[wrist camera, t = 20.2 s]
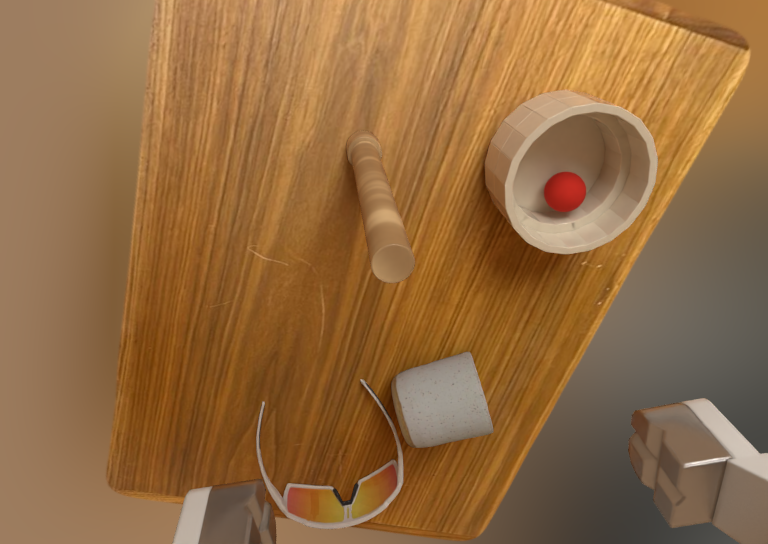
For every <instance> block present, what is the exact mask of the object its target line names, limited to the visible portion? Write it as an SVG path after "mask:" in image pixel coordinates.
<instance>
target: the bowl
mask: <svg viewBox="0 0 768 544" xmlns="http://www.w3.org/2000/svg"><path fill="white" fill-rule="evenodd" d="M657 159H658V157H657V153H656V149H655V144H654V140H653V137H652V135H651V134H650V132H649V131H648V129H647V128H646V126H645V125H644V123H643V122H642V121H641V119H640V118H638V117H636V116H635V115H633V114H632V113H630V112H628V111H627V110H625V109H624V108H622V107H620V106H617V105H615V104H612V103H610V102H607V101H605V100H602V99H600V98H597V97H595V96H592V95H590V94H587V93H583V92H578V91H572V90H559V91H553V92H547V93H543V94H540V95H538V96H536V97H534V98H532V99H530V100H528V101H526V102H524V103H522V104H521V105H520V106H519V107H517V108H516V109H515V110H514V111H513V112H512V113H511V114H510V115H509V116H508V117H507V118H506V119H505V120H504V121H503V122H502V123H501V125H500V127H499V128H498V130H497V132H496V133H495V135H494V137H493V138H492V140H491V142H490V145H489V149H488V153H487V156H486V160H485V183H486V187H487V189H488V192H489V194H490V197H491V199H492V202H493V203H494V205H495V206H496V207H497V208H498V210H499V211H500V212H501V213H502V215H503V216H504V217H505V218H506V220H507V221H508V222H509V224H510V225H511V226H512V227H513V229H514V230H515V231H516V232H517V233H518V234H519V235H520V236H521V237H522V238H523V239H524V240H525V241H526V242H527V243H528V244H530V245H532V246H534V247H536V248H538V249H540V250H542V251H544V252H550V253H558V254H574V253H579V252H585V251H590V250H593V249H595V248H597V247H599V246H601V245H603V244H606V243H608V242H610V241H612V240H613V239H614V238H615V237H617V236H618V235H619V234H620V233H622V232H623V231H624V230H626V229H627V228H628V227H629V226H630V225H631V224H632V223H633V222H634V220H635V219H636V218H637V216H638V215H639V214H640V212H641V211H642V210H643V209H644V207H645V205H646V204H647V201H648V199H649V197H650V194H651V192H652V190H653V187H654V185H655V181H656V173H657V164H658V160H657ZM560 172H572V173H575V174H577V175H578V176H580V177H581V178H582V180H583V181H584V183H585V186H586V196H585V199H584V201H583V202H582V204H581V205H580V206H579V207H578V208H576V209H574V210H572V211H569V212H559V211H556V210H554V209H552V208H551V207H550V206H549V205H548V204H547V202H546V200H545V197H544V188H545V185H546V183H547V181H548V180H549V179H550V178H551V177H552V176H553V175H555V174H557V173H560Z"/></svg>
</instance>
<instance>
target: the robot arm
mask: <svg viewBox="0 0 768 544" xmlns="http://www.w3.org/2000/svg"><path fill="white" fill-rule="evenodd" d="M631 425H632V426H633V428H634V429H635V430H636V432H635V433H634V434H633V435H632V436H631V438H630V439H629V449H628V451H629V455H630V460H631V464H632V466H633V468H634V471H635V473H636V474H637V476H638V478H639V479H640V481H641V482H642V483H643V484H645V485H646V486H648V487H650V488H651V489H653V490H655V491H654V499H653V501H654V503H655V504H656V505H657V507H658V509H659V510H660V512H661V513H662V515H663V516H664V518H665V519H666V521H667V522H668V524H669V525H670V527H671V528H674V527H680V526H687V525H694V524H700V523H707V522H712V524H713V525H714V526H716V527H717V528H719V529H720V530H721V531H723V532H724V533H726V534H727V535H729V536H730V537H732V538H733V539H734V540H736V541H737V542H739V543H740V544H768V453H763V454H759V452H758V451H757V450H756V449H755V448H754V447H753V446H752V445H751V444H750V443H749V442H748V441H747V440H746V439H745V437H743V435H742V434H741V433H740V432H739V431H738V430H737V429H736V428H735V427H734V426H733V425H732V424H731V423H730V422H729V421H728V420H727V419H726V418H725V417H724V416H723V414H722V413H720V411H719V410H718V409H717V408H716V407H715V406H714V405H713V404H712V403H711V402H710V401H709V400H707V399H704V398H701V399H695V400H691V401H685V402H681V403H673V404H668V405H663V406H658V407H652V408H647V409H642V410H636V411H635V412H634V414H633V415H632V419H631ZM265 493H266V489H265V486H264V484H263V481H262V479H254V480H248V481H241V482H235V483H228V484H222V485H215V486H211V487H204V488H198V489H192V490H189V492H188V493H187V495H186V496H185V499H184V502H183V506H182V510H181V513H180V517H179V521H178V525H177V528H176V532H175V535H174V540H173V543H172V544H276V522H275V517H274V512H273V509H272V506H271V504H270V503H269V502H267V501H265Z"/></svg>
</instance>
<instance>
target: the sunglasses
mask: <svg viewBox="0 0 768 544" xmlns="http://www.w3.org/2000/svg"><path fill="white" fill-rule="evenodd" d="M360 381H361V383H362V384H363V385H364V387H365V388H366V389H367V390H368V391H369V393H370V394H371V395H372V397H373V398H374V399H375V401H376V402H377V404H378V405H379V406H380V408H381V410H382V411H383V413H384V415H385V416H386V418H387V420H388V422H389V424H390V426H391V428H392V431H393V433H394V436H395V440H396V444H397V450H398V464H397V463H396V461H395V460H394V459H393V460H391V461H390V462H388V463H387V464H385V465H384V466H382V467H381V468H380V469H378V470H376V471H375V472H373V473H371V474H370V475H368V476H366V477H364V478H362V479H360V480H359V481H358V484H357V483H356V484H355V486H354V489H353V493H352V497H351V500H348V501H344V502H343V501H342V499H341V497H340V495H339V493H338V491H337V490H336V489H335V488H333V487H332V486H313V485H302V484H293V483H288V484H287V486H286V489H285V491H284V495H283V498H282V497H281V495H280V493H279V492H278V490H277V489H276V488H275V487H274V486H273V485H272V483H271V482H270V480H269V478H268V477H267V475H266V472H265V469H264V465H263V461H262V456H261V451H260V429H261V421H262V416H263V411H264V407H265V402H262V406H261V410H260V415H259V420H258V427H257V437H256V449H257V457H258V462H259V465H260V469H261V473H262V476H263V478H264V481H265V484H266V486H267V488H268V491H269V493H270V494H271V496H272V498H273V499H274V501H275V502H276V504H277V505H278V507H279V508H280V510H281V511H282V512H283V513H284V514H285V515H286V516H287V517H288V518H290V519H292V520H294V521H297V522H299V523H302V524H304V525H305V526H308V527H313V528H320V529H336V528H345V527H349V526H353V525H357V524H359V523H362V522H365V521H367V520H369V519H371V518H373V517H374V516H376V515H377V514H379V513H380V512H382V511H383V510H384V509H385V508H387V506H388V505H389V503H390V502H391V501H392V500H393V499H394V498H395V497H396V496H397V494H398V493H399V492H400V489H401V486H402V484H403V454H402V450H401V445H400V441H399V438H398V435H397V432H396V429H395V427H394V424H393V422H392V419H391V418H390V416H389V414H388V412H387V411H386V409H385V407H384V406H383V404H382V403H381V401H380V400H379V398H378V397H377V395H376V394H375V393H374V391H373V390H372V389H371V388H370V387H369V385H368V384H367V383H366V382H365V381H364V380H362V379H361V380H360Z"/></svg>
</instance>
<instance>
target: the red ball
mask: <svg viewBox="0 0 768 544" xmlns="http://www.w3.org/2000/svg"><path fill="white" fill-rule="evenodd" d="M585 196H586V186H585V183H584V181H583V180H582V178H581V177H580V176H578V175H577V174H575V173H572V172H560V173H557V174H555V175H553V176H552V177H551V178H550V179H549V180H548V181H547V183H546V185H545V188H544V197H545V200H546V202H547V204H548V205H549V206H550V207H551V208H552V209H554V210H556V211H559V212H569V211H572V210H574V209H576V208H578V207H579V206H580V205H581V204H582V202H583V201H584V199H585Z"/></svg>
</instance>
